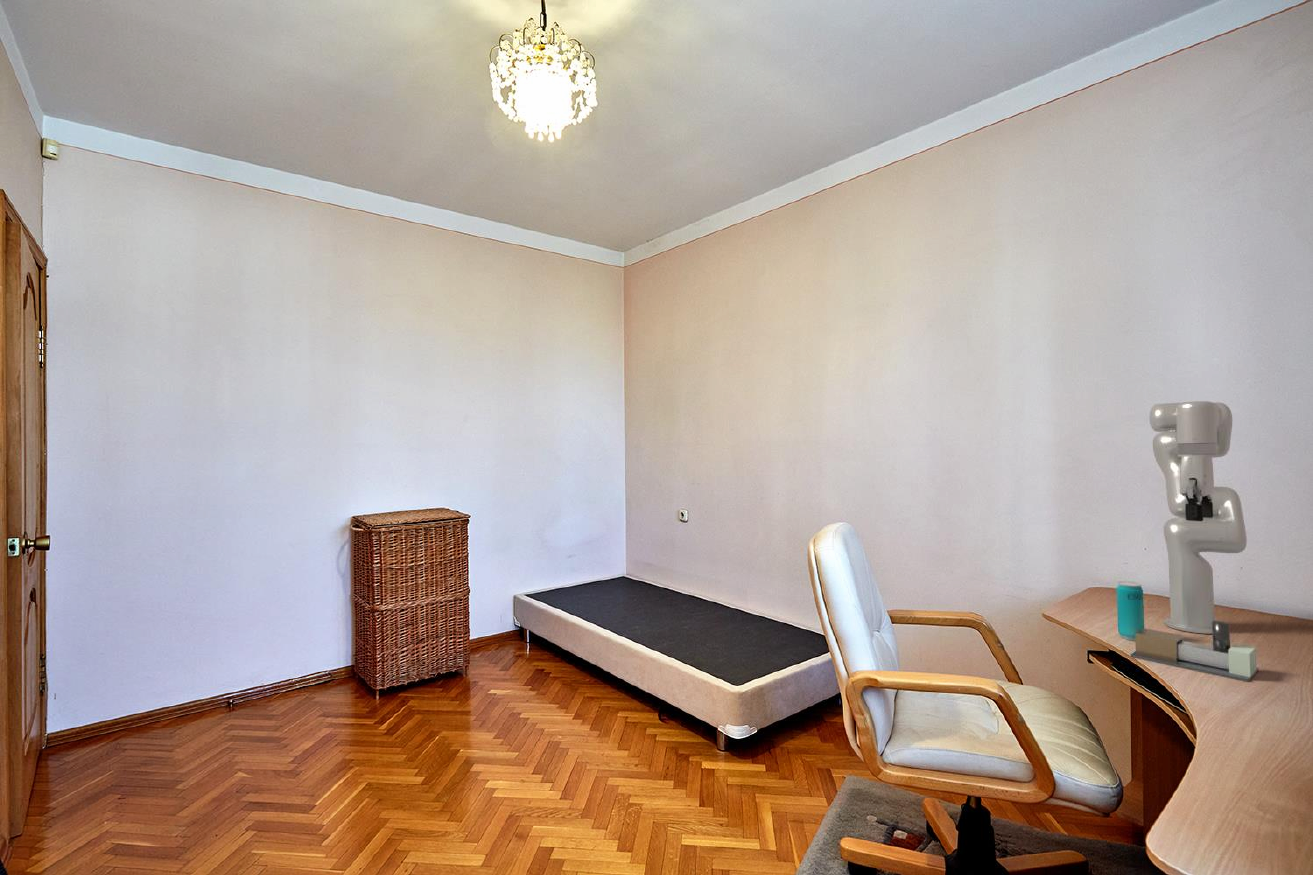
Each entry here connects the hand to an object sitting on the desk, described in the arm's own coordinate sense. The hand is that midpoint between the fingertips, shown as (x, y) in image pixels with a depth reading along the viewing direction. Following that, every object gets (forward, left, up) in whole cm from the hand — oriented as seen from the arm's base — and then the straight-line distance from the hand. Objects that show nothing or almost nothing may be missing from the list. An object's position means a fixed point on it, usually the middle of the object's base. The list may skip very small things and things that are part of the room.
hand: (1199, 519), depth 153 cm
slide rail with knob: (+8, -1, -34) cm, 35 cm away
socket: (+8, +8, -34) cm, 36 cm away
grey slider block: (+8, +2, -34) cm, 35 cm away
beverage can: (-4, -16, -34) cm, 38 cm away
